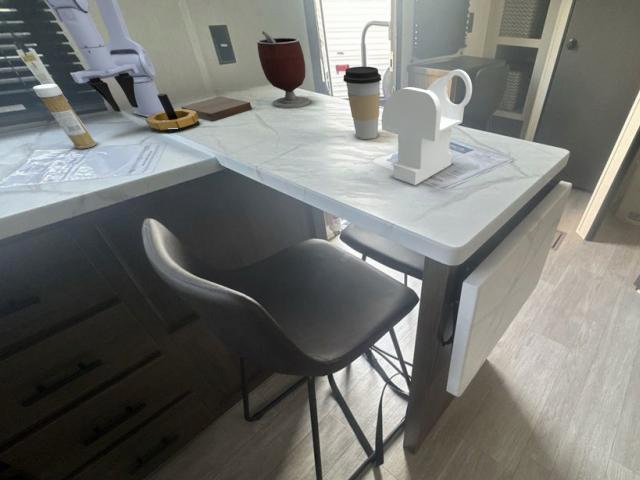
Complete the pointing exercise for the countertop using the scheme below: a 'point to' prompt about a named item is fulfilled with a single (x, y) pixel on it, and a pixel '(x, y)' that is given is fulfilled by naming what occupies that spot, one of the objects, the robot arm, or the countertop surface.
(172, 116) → the peg stand
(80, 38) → the robot arm
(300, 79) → the mate gourd
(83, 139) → the sprinkles bottle
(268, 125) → the countertop surface
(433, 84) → the tape dispenser
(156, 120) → the orange ring
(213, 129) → the countertop surface
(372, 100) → the coffee cup
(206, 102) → the coaster
